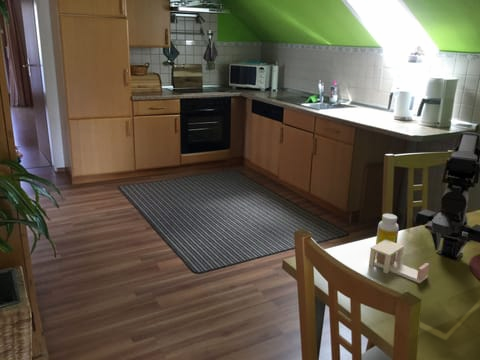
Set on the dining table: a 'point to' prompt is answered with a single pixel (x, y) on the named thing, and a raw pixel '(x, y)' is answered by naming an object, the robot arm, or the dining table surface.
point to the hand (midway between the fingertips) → (446, 253)
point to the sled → (403, 268)
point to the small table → (386, 253)
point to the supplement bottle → (387, 229)
